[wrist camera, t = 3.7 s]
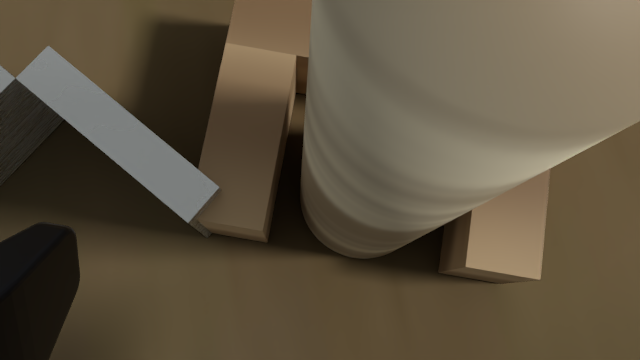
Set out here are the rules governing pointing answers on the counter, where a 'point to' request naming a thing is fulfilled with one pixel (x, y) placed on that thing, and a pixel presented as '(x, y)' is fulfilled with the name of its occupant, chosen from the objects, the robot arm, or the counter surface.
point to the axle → (452, 106)
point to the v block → (94, 133)
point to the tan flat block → (270, 142)
